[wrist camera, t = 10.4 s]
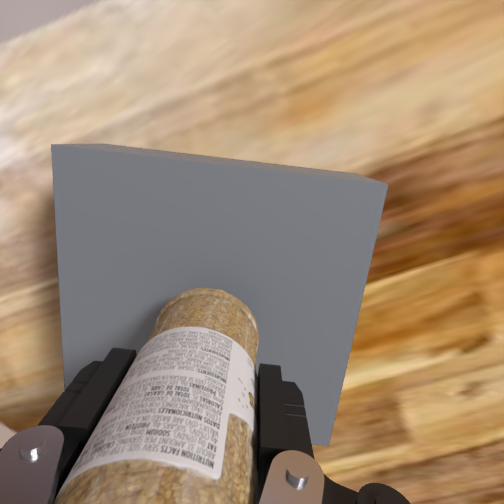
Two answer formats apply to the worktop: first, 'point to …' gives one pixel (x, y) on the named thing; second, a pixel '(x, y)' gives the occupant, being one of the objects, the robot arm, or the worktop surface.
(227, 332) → the spice jar
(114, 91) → the worktop surface
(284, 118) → the worktop surface
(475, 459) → the worktop surface
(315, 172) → the grey block
